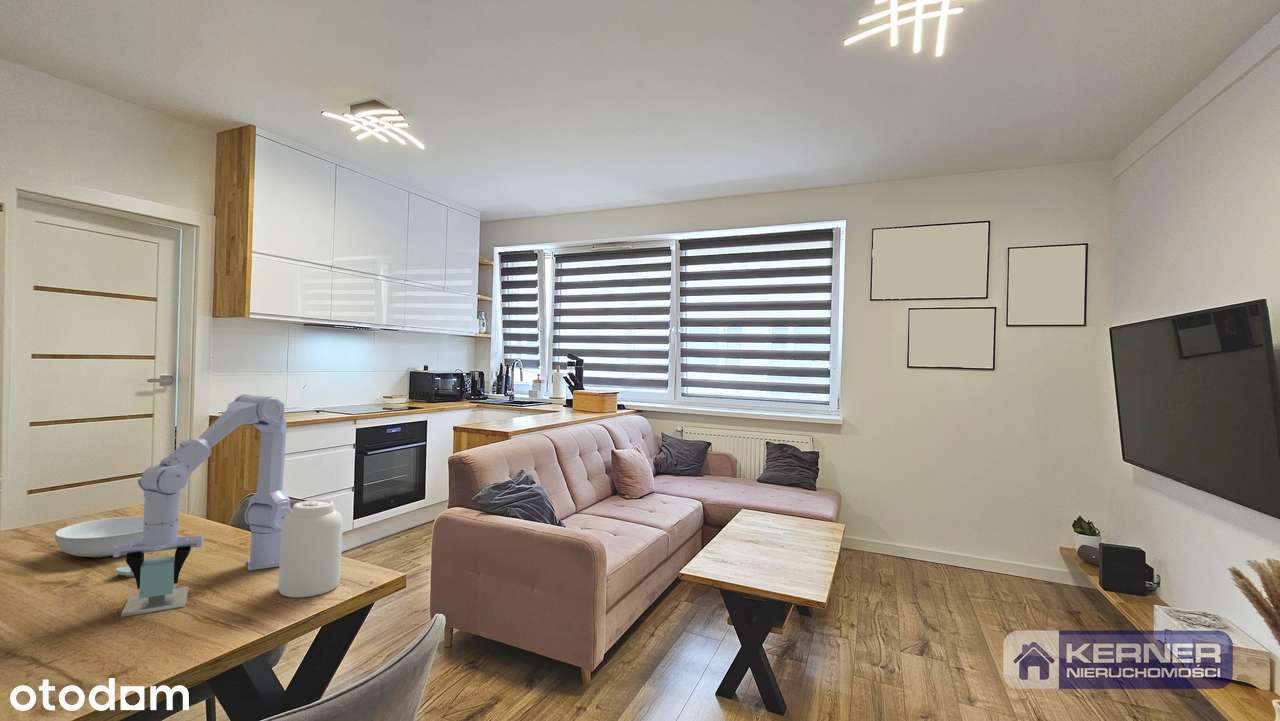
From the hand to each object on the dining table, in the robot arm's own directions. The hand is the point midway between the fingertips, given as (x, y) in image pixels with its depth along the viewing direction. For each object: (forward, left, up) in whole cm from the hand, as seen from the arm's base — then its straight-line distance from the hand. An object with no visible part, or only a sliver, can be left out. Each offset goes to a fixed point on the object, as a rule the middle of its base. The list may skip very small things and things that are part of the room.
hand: (157, 584), depth 121 cm
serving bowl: (+14, -44, -4) cm, 46 cm away
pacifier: (+6, -22, -4) cm, 23 cm away
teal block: (0, 0, -2) cm, 2 cm away
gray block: (0, 0, -4) cm, 4 cm away
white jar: (-28, +6, -4) cm, 29 cm away
